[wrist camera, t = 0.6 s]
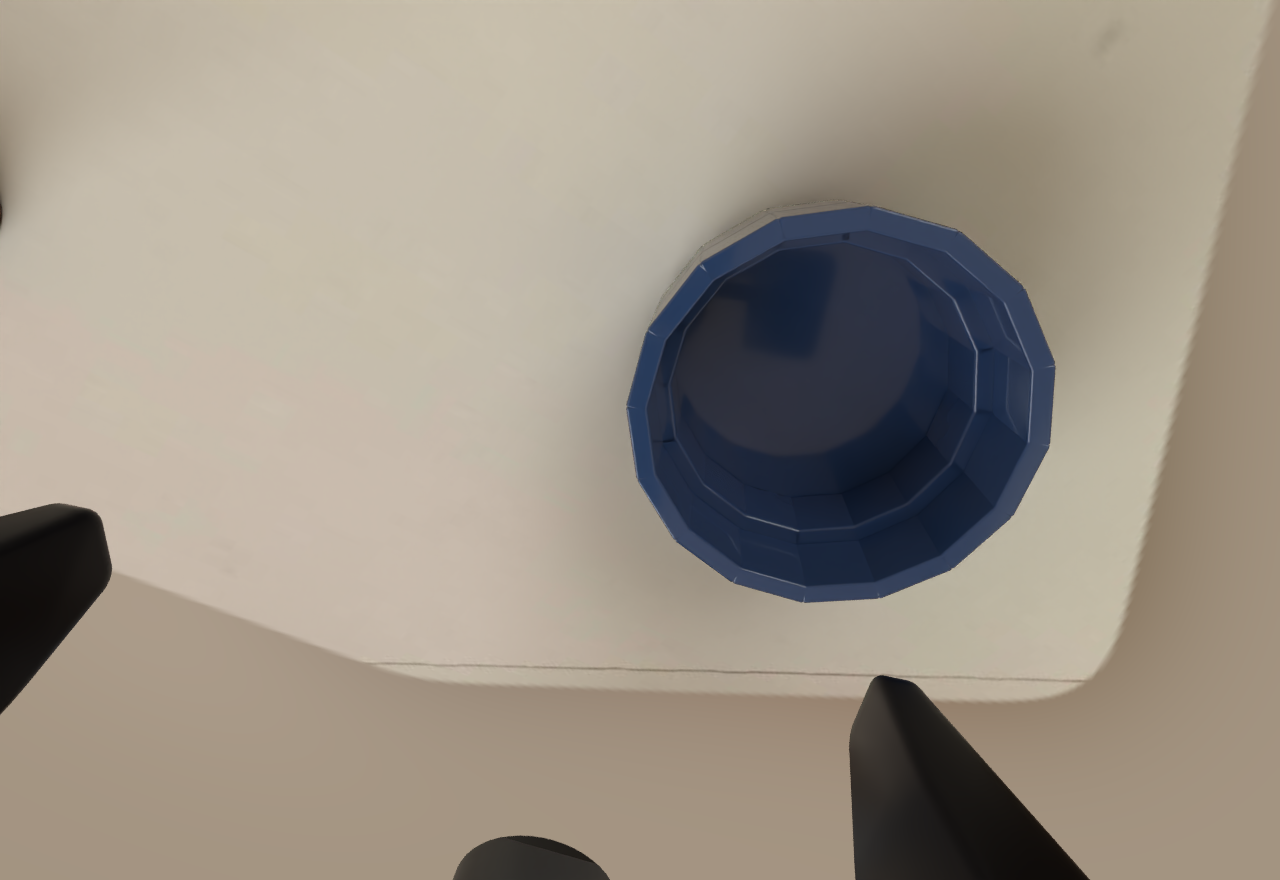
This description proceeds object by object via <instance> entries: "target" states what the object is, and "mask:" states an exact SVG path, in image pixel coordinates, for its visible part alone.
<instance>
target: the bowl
mask: <svg viewBox="0 0 1280 880" xmlns="http://www.w3.org/2000/svg"><path fill="white" fill-rule="evenodd" d="M1054 364H1055V361H1054V359H1053V356H1052V354H1051V351H1050V349H1049V346H1048V344H1047V341H1046V339H1045V336H1044V334H1043V331H1042V329H1041V327H1040V324H1039V322H1038V319H1037V317H1036V314H1035V312H1034V309H1033V307H1032V304H1031V302H1030V299H1029V297H1028V294H1027V292H1026V290H1025V289H1024V288H1023V286H1022V285H1021V284H1020V283H1019V282H1018V281H1017V280H1016V279H1015V278H1013V277H1012V276H1011V275H1010V274H1009V273H1008V272H1007V271H1005V270H1004V269H1003V268H1002V267H1001V266H1000V265H999V264H998V263H996V262H995V261H994V260H993V259H992V258H991V257H990V256H988V255H987V254H986V253H985V252H984V251H983V250H982V249H980V248H979V247H978V246H977V245H976V244H975V243H974V242H972V241H971V240H970V239H969V238H968V237H967V236H966V235H964V234H963V233H962V232H960V231H958V230H957V229H954V228H951V227H947V226H944V225H940V224H937V223H933V222H930V221H926V220H923V219H919V218H916V217H912V216H908V215H905V214H901V213H898V212H894V211H891V210H887V209H884V208H880V207H877V206H873V205H867V204H861V203H855V202H849V201H843V200H827V201H820V202H812V203H805V204H798V205H790V206H783V207H775V208H768V209H766V210H765V211H760V212H759V213H757V214H755V215H753V216H752V217H750V218H748V219H747V220H745V221H743V222H741V223H740V224H738V225H736V226H735V227H733V228H731V229H729V230H728V231H726V232H724V233H722V234H721V235H719V236H717V237H716V238H714V239H712V240H710V241H709V242H707V243H705V245H704V246H702V247H701V248H700V249H699V250H698V251H697V253H696V254H695V255H694V257H693V258H692V259H691V260H690V262H689V263H688V264H687V266H686V267H685V268H684V270H683V271H682V272H681V273H680V275H679V276H678V277H677V279H676V280H675V281H674V282H673V284H672V285H671V286H670V288H669V289H668V290H667V291H666V293H665V294H664V295H663V297H662V298H661V300H660V302H659V305H658V307H657V309H656V311H655V313H654V316H653V318H652V320H651V322H650V325H649V327H648V329H647V331H646V334H645V338H644V341H643V345H642V349H641V352H640V356H639V360H638V363H637V367H636V371H635V375H634V378H633V382H632V386H631V389H630V393H629V397H628V400H627V408H626V410H627V417H628V424H629V431H630V437H631V444H632V451H633V458H634V464H635V471H636V477H637V479H638V482H639V484H640V486H641V487H642V489H643V490H644V492H645V494H646V495H647V497H648V498H649V500H650V502H651V503H652V505H653V507H654V508H655V510H656V511H657V513H658V515H659V516H660V518H661V520H662V521H663V523H664V524H665V526H666V528H667V529H668V531H669V532H670V534H671V536H672V537H673V539H675V540H676V542H677V543H679V544H680V545H682V546H683V547H684V548H686V549H687V550H688V551H690V552H691V553H692V554H694V555H695V556H697V557H698V558H699V559H701V560H702V561H703V562H705V563H706V564H707V565H709V566H710V567H712V568H713V569H714V570H716V571H717V572H718V573H720V574H721V575H722V576H724V577H725V578H727V579H728V580H729V581H731V582H733V583H735V584H738V585H742V586H745V587H749V588H752V589H756V590H759V591H763V592H766V593H770V594H773V595H777V596H781V597H784V598H788V599H791V600H795V601H798V602H804V603H810V602H828V601H846V600H864V599H878V598H883V597H885V596H888V595H890V594H893V593H895V592H898V591H900V590H903V589H905V588H908V587H910V586H913V585H915V584H917V583H920V582H922V581H925V580H927V579H930V578H932V577H935V576H937V575H940V574H942V573H945V572H947V571H950V570H951V568H954V567H956V566H957V565H958V564H959V563H960V562H961V561H962V560H964V559H965V558H966V557H967V556H968V555H969V554H970V553H972V552H973V551H974V550H975V549H976V548H977V547H978V546H980V545H981V544H982V543H983V542H984V541H985V540H986V539H988V538H989V537H990V536H991V535H992V534H993V533H994V532H996V531H997V530H998V529H999V528H1000V527H1001V526H1002V525H1004V524H1005V523H1006V522H1007V521H1008V520H1009V519H1010V518H1011V516H1013V515H1014V513H1015V511H1016V509H1017V508H1018V506H1019V504H1020V502H1021V500H1022V498H1023V496H1024V494H1025V492H1026V490H1027V489H1028V487H1029V485H1030V483H1031V481H1032V479H1033V477H1034V475H1035V473H1036V471H1037V470H1038V468H1039V466H1040V464H1041V462H1042V460H1043V458H1044V456H1045V454H1046V452H1047V451H1048V449H1049V444H1050V437H1051V423H1052V409H1053V395H1054V381H1055V365H1054Z"/></svg>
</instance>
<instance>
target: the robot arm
mask: <svg viewBox="0 0 1280 880" xmlns="http://www.w3.org/2000/svg"><path fill="white" fill-rule="evenodd" d="M111 573H112V564H111V559H110V555H109V550H108V546H107V541H106V536H105V532H104V527H103V523H102V520H101V518H100V516H99V515H98V514H97V513H96V512H94V511H93V510H91V509H87V508H82V507H77V506H73V505H68V504H60V503H57V504H49V505H45V506H41V507H37V508H33V509H29V510H25V511H21V512H17V513H13V514H9V515H5V516H1V517H0V714H1V713H2V712H3V711H4V710H5V709H6V708H7V707H8V706H9V705H10V704H11V703H12V701H13V700H14V699H15V698H16V697H17V695H18V694H19V693H20V692H21V691H22V690H23V688H24V687H25V686H26V685H27V684H28V683H29V681H30V680H31V679H32V678H33V676H34V675H35V674H36V673H37V672H38V670H39V669H40V668H41V667H42V665H43V664H44V663H45V661H46V660H47V659H48V658H49V657H50V655H51V654H52V653H53V652H54V651H55V649H56V648H57V647H58V646H59V645H60V643H61V642H62V641H63V640H64V638H65V637H66V636H67V635H68V633H69V632H70V631H71V630H72V628H73V627H74V626H75V625H76V624H77V622H78V621H79V620H80V619H81V618H82V616H83V615H84V614H85V612H86V611H87V610H88V609H89V608H90V607H91V605H92V604H93V603H94V601H95V600H96V599H97V598H98V597H99V596H100V594H101V593H102V592H103V590H104V589H105V588H106V586H107V584H108V582H109V580H110V577H111ZM849 743H850V744H849V752H850V772H851V773H850V774H851V794H852V795H851V797H852V819H853V839H854V840H853V841H854V863H855V879H856V880H1090V879H1089V878H1088V877H1087V876H1086V875H1085V874H1084V873H1083V872H1082V870H1081V869H1080V868H1079V867H1078V866H1077V865H1076V864H1075V862H1074V861H1073V860H1072V859H1071V858H1070V857H1069V856H1068V855H1067V853H1066V852H1065V851H1064V850H1063V849H1062V848H1061V847H1060V846H1059V844H1057V842H1056V841H1055V840H1054V839H1053V838H1052V837H1051V835H1050V834H1049V833H1048V832H1047V831H1046V830H1045V829H1044V828H1043V826H1042V825H1041V824H1040V823H1039V822H1038V821H1037V820H1036V819H1035V817H1034V816H1033V815H1032V814H1031V813H1030V812H1029V811H1028V810H1027V808H1026V807H1025V806H1024V805H1023V804H1022V803H1021V802H1020V801H1019V799H1018V798H1017V797H1016V796H1015V795H1014V794H1013V793H1012V791H1011V790H1010V789H1009V788H1008V787H1007V786H1006V785H1005V784H1004V783H1003V781H1002V780H1001V779H1000V778H999V777H998V776H997V775H996V773H995V772H994V771H993V770H992V769H991V768H990V767H989V766H988V764H987V763H985V761H984V760H983V759H982V758H981V757H980V755H979V754H978V753H977V752H976V751H975V750H974V749H973V748H972V747H971V745H970V744H969V743H968V742H967V741H966V740H965V739H964V737H963V736H962V735H961V734H960V733H959V732H958V731H957V730H956V728H955V727H954V726H953V725H952V724H951V723H950V722H949V721H948V719H947V718H946V717H945V716H944V715H943V714H942V713H941V712H940V710H939V709H938V708H937V707H936V706H935V705H934V704H933V703H932V701H931V700H930V699H929V698H928V697H927V696H926V695H925V694H924V692H923V691H922V690H921V689H920V688H919V687H918V686H917V685H916V684H914V683H913V682H910V681H907V680H903V679H898V678H893V677H888V676H883V675H880V676H877V677H875V678H874V679H873V680H872V682H871V683H870V685H869V688H868V690H867V692H866V695H865V697H864V699H863V702H862V704H861V706H860V709H859V711H858V714H857V716H856V718H855V720H854V723H853V725H852V729H851V734H850V742H849Z"/></svg>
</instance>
